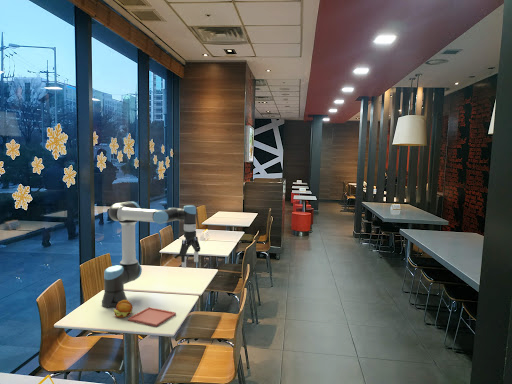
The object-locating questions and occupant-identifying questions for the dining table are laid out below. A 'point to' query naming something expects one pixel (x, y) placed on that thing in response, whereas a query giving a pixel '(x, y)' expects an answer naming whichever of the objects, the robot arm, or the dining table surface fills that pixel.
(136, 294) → the dining table surface
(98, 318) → the dining table surface
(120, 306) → the cheeseburger
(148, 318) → the tray
